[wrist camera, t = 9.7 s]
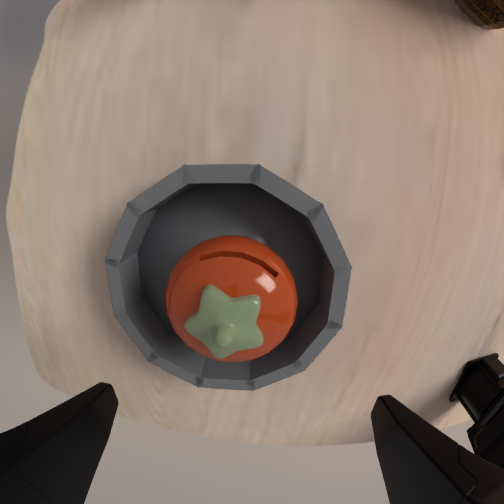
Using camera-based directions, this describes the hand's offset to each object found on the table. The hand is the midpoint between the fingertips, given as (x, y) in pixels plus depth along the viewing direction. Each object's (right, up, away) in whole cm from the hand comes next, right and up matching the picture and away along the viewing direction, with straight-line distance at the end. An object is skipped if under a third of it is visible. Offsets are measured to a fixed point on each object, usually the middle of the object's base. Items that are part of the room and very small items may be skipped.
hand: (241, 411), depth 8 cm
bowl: (-1, +3, +12) cm, 13 cm away
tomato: (-1, +3, +11) cm, 12 cm away
